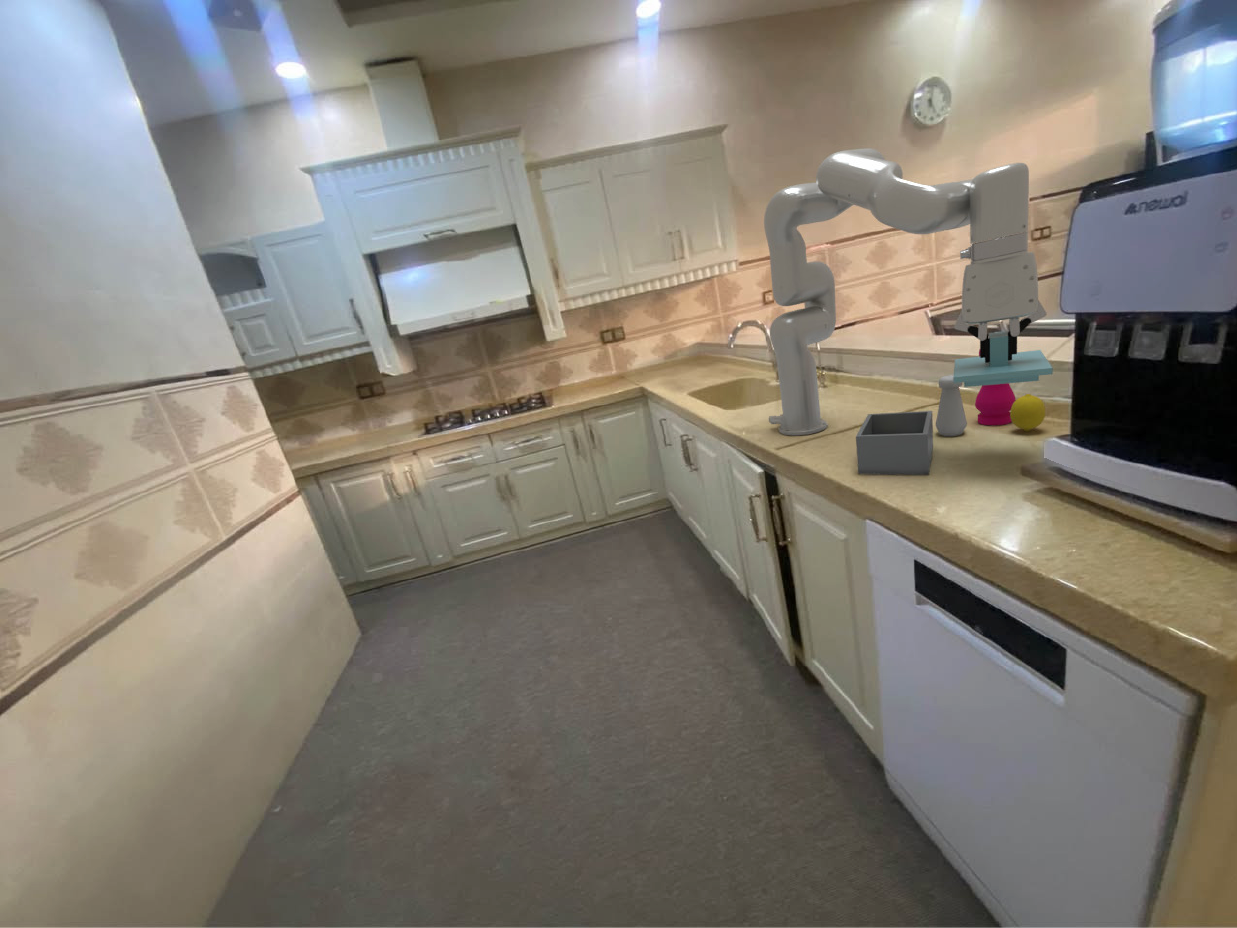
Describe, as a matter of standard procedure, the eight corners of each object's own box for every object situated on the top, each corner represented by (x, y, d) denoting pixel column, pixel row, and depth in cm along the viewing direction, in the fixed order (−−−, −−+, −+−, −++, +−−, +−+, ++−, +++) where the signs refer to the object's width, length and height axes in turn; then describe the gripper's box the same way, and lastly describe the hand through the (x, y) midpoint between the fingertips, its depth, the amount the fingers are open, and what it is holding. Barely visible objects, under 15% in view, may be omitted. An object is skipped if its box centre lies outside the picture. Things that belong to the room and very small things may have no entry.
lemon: (1039, 426, 103) (1041, 389, 100) (1048, 434, 98) (1050, 395, 96) (1006, 428, 105) (1007, 392, 103) (1013, 436, 100) (1014, 398, 98)
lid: (953, 389, 84) (952, 348, 82) (955, 370, 97) (954, 333, 95) (1052, 381, 77) (1053, 335, 75) (1040, 361, 90) (1041, 322, 88)
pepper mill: (1001, 415, 113) (1003, 327, 108) (1023, 422, 107) (1026, 329, 101) (968, 420, 115) (968, 334, 109) (987, 428, 108) (988, 336, 102)
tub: (858, 474, 99) (855, 436, 96) (870, 448, 111) (868, 414, 109) (928, 474, 92) (927, 434, 90) (933, 447, 104) (932, 410, 102)
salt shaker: (962, 428, 111) (962, 371, 107) (970, 435, 106) (970, 376, 102) (932, 431, 113) (931, 376, 109) (939, 438, 108) (938, 380, 104)
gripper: (939, 263, 83) (942, 370, 88) (1067, 236, 74) (1062, 357, 79) (941, 261, 89) (944, 362, 94) (1059, 236, 79) (1055, 350, 84)
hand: (998, 359), depth 86 cm, fingers closed on lid, 2 cm apart
